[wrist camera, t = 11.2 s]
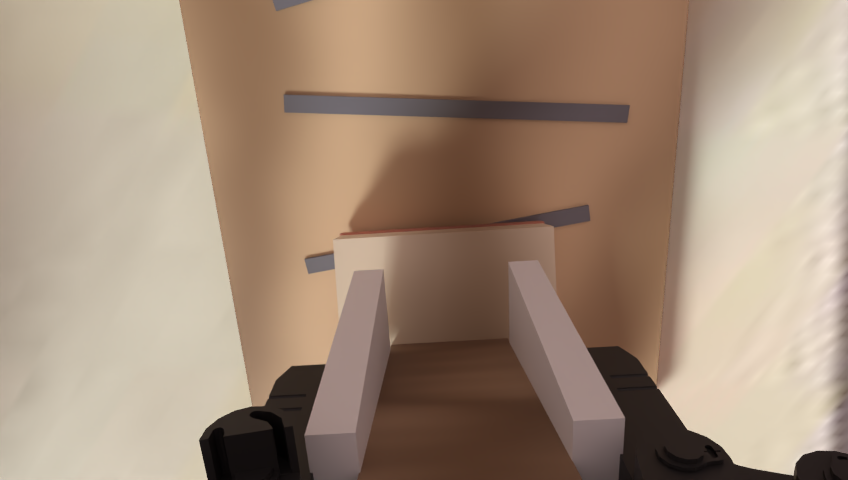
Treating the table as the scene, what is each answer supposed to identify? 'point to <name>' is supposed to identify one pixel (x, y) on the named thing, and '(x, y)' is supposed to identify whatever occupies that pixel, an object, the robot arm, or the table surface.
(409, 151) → the board
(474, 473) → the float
